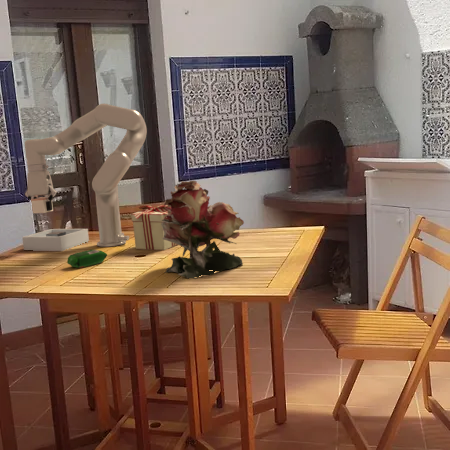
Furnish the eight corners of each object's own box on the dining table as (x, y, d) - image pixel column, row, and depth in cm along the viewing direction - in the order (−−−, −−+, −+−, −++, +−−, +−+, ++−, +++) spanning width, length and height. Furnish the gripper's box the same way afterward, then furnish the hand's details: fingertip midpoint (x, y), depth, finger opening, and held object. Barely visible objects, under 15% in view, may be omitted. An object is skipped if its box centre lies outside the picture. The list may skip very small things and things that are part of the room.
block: (66, 242, 284) (65, 231, 283) (58, 245, 279) (57, 234, 278) (55, 242, 287) (54, 231, 286) (47, 245, 281) (45, 234, 280)
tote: (89, 241, 288) (87, 228, 287) (62, 251, 270) (60, 237, 269) (52, 241, 296) (51, 229, 295) (23, 250, 278) (22, 237, 277)
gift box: (129, 251, 258) (125, 209, 256) (151, 242, 275) (148, 203, 272) (167, 251, 252) (163, 208, 249) (187, 242, 268) (184, 202, 266)
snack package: (111, 262, 241) (110, 248, 240) (75, 270, 230) (73, 256, 229) (100, 260, 246) (99, 247, 245) (64, 268, 235) (63, 254, 234)
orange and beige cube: (53, 210, 275) (51, 196, 274) (44, 212, 269) (42, 198, 268) (41, 211, 277) (39, 197, 276) (33, 213, 271) (31, 199, 270)
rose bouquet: (255, 262, 221) (249, 175, 217) (193, 280, 201) (186, 185, 196) (203, 255, 239) (197, 175, 235) (142, 272, 219) (134, 184, 214)
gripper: (59, 166, 271) (65, 208, 273) (25, 169, 277) (31, 210, 279) (49, 168, 264) (55, 211, 266) (14, 170, 270) (20, 212, 272)
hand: (43, 210), depth 273 cm, fingers closed on orange and beige cube, 6 cm apart
